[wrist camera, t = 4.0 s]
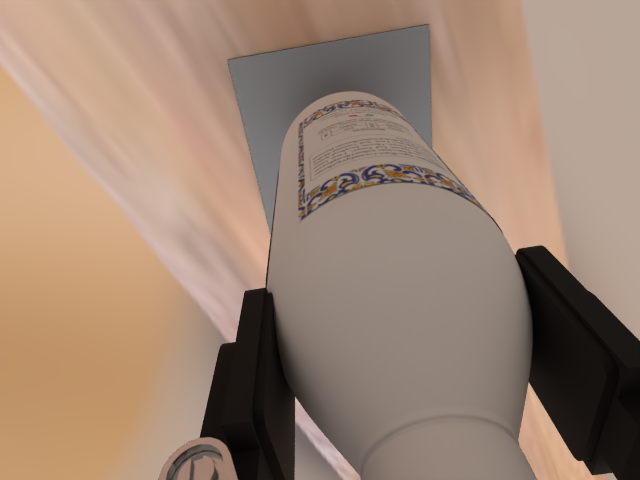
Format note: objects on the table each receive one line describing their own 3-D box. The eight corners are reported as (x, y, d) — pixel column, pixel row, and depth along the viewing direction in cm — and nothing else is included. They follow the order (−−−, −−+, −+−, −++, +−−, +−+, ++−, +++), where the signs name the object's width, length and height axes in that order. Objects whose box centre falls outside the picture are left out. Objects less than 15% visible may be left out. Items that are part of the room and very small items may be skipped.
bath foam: (367, 234, 24) (539, 826, 7) (259, 183, 22) (125, 831, 5) (439, 130, 21) (1050, 719, 4) (321, 61, 19) (515, 626, 2)
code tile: (227, 59, 25) (227, 60, 24) (428, 24, 24) (429, 24, 24) (270, 233, 30) (270, 234, 30) (432, 207, 30) (433, 209, 30)
